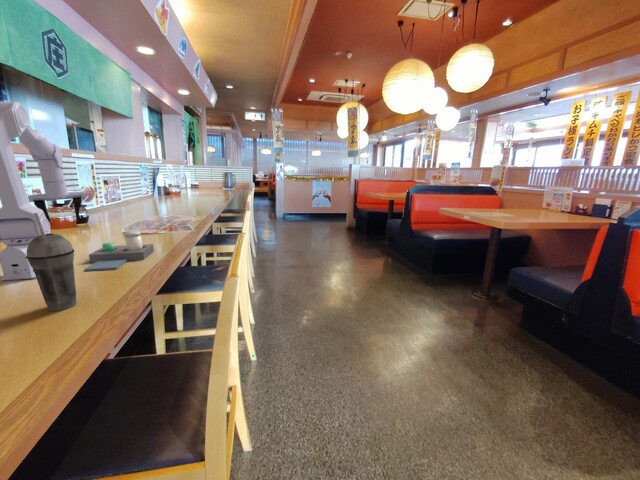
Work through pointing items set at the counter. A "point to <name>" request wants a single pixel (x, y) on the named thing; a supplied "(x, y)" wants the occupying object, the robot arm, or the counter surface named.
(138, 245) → the cylinder
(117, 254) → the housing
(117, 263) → the mat
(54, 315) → the counter surface
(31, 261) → the beverage cup
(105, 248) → the release button
